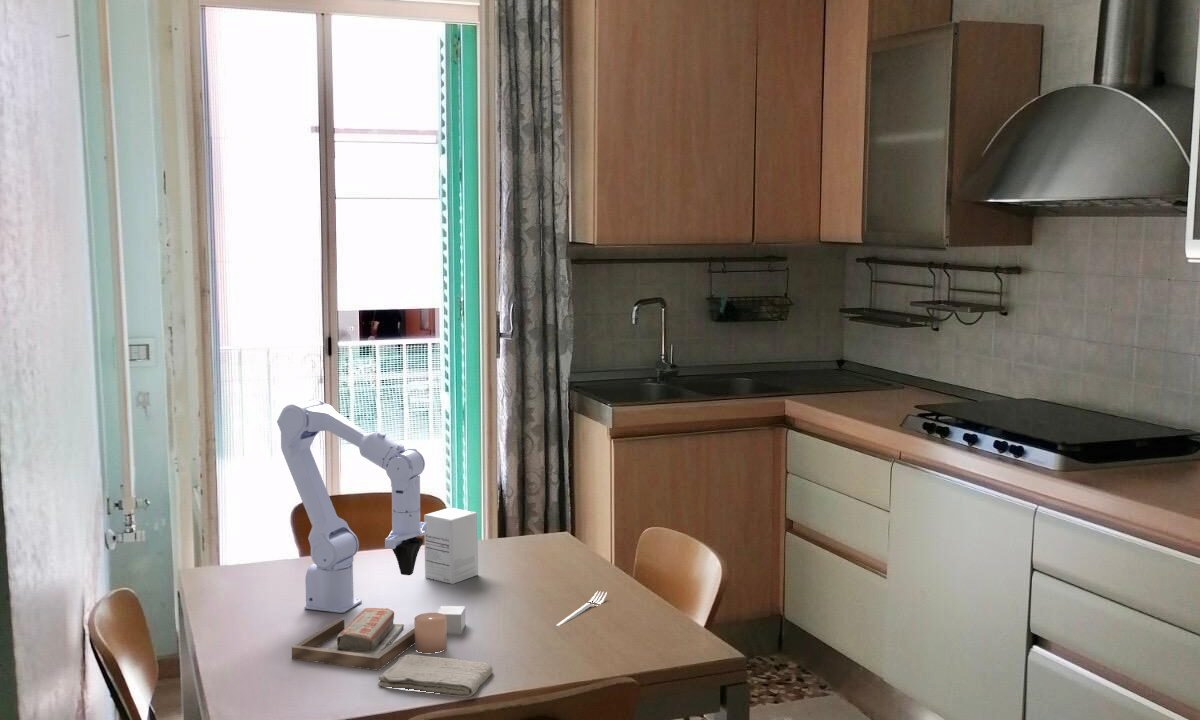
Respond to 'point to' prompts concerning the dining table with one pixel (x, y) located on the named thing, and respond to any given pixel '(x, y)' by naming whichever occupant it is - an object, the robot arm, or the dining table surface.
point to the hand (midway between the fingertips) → (406, 574)
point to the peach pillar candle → (430, 632)
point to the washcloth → (436, 675)
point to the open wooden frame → (311, 653)
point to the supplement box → (451, 545)
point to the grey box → (454, 618)
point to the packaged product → (368, 632)
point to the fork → (585, 607)
